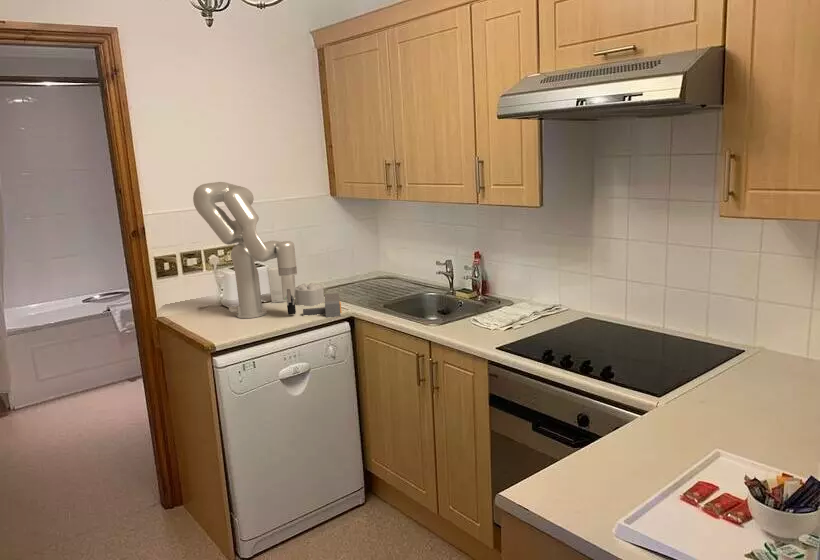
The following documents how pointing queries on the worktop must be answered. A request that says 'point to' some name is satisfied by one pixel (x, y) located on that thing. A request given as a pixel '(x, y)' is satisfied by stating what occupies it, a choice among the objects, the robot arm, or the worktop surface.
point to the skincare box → (275, 285)
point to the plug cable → (316, 311)
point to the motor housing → (332, 305)
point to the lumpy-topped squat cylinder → (309, 294)
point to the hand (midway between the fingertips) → (292, 313)
